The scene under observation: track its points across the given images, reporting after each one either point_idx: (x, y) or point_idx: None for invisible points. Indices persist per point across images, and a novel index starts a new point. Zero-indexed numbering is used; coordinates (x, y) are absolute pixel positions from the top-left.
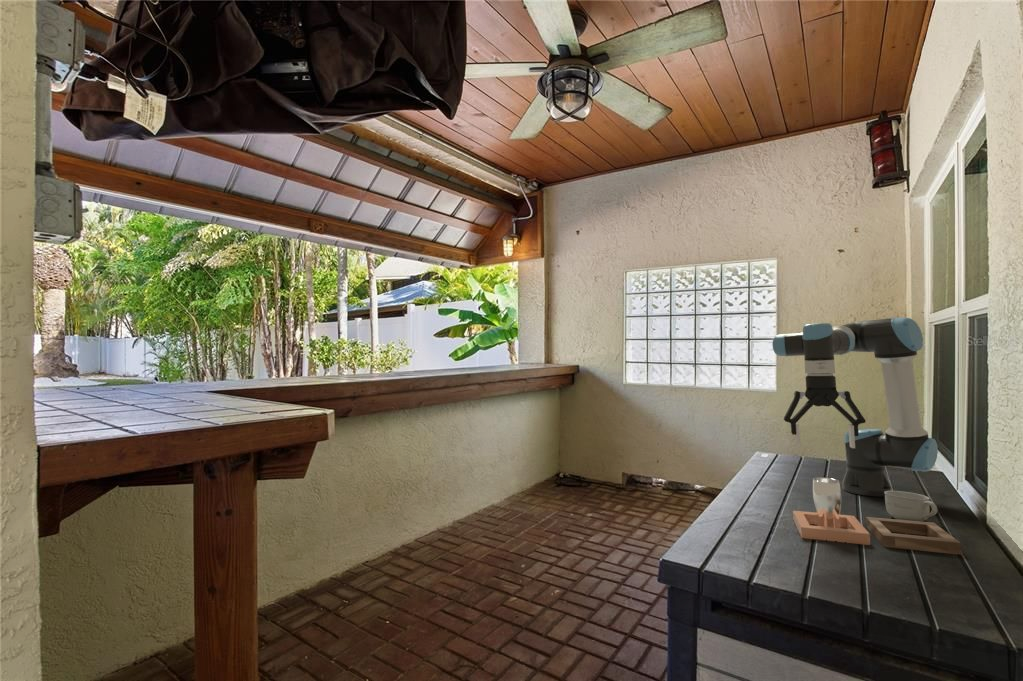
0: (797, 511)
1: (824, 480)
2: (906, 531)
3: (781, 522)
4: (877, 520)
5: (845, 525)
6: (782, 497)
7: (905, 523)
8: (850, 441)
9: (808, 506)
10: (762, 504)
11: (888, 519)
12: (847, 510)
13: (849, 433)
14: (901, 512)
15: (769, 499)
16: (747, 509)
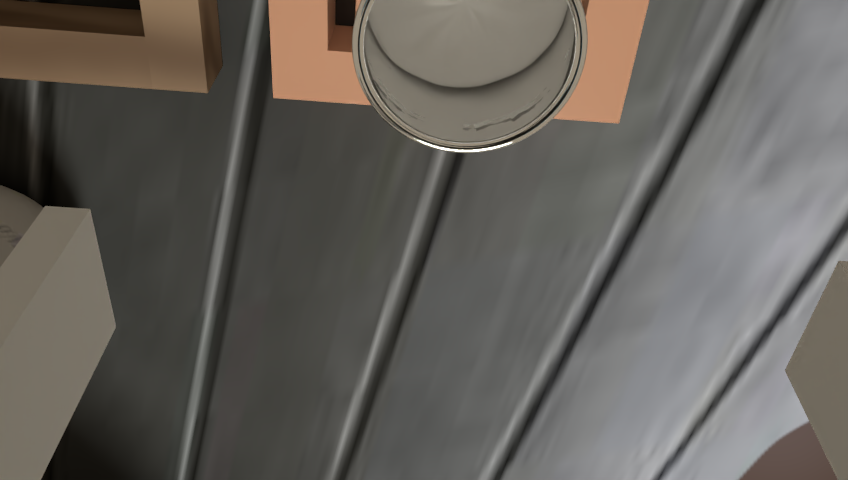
0: (595, 110)
1: (454, 134)
2: (23, 5)
3: (699, 35)
4: (152, 34)
5: (339, 30)
6: (527, 442)
7: (3, 24)
8: (68, 339)
9: (441, 340)
10: (675, 328)
11: (88, 69)
12: (265, 317)
13: (15, 475)
14: (8, 203)
15: (604, 406)
16: (804, 233)
